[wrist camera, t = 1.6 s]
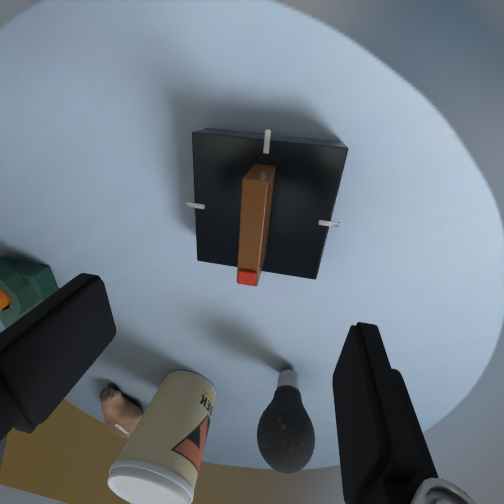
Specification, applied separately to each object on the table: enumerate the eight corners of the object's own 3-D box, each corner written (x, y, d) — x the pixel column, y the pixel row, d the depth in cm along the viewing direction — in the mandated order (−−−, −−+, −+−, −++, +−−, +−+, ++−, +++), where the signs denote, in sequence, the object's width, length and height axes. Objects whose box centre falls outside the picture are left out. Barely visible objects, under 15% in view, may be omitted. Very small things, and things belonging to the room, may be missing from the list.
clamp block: (198, 118, 19) (181, 120, 17) (353, 133, 18) (362, 138, 15) (202, 248, 25) (189, 266, 22) (320, 267, 24) (322, 288, 21)
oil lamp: (156, 392, 41) (109, 375, 41) (143, 417, 37) (91, 397, 37) (147, 426, 45) (104, 409, 45) (134, 451, 41) (87, 433, 41)
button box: (-16, 245, 30) (-57, 264, 27) (45, 256, 29) (11, 276, 26) (41, 354, 40) (16, 378, 36) (88, 365, 39) (67, 390, 36)
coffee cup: (224, 411, 39) (195, 523, 28) (166, 401, 40) (118, 503, 30) (219, 371, 34) (182, 487, 24) (153, 361, 36) (91, 466, 25)
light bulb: (321, 379, 31) (327, 483, 23) (282, 389, 34) (274, 487, 25) (297, 350, 30) (294, 451, 21) (257, 362, 32) (240, 458, 23)
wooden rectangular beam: (254, 163, 17) (241, 179, 14) (275, 165, 17) (267, 182, 13) (247, 253, 21) (235, 285, 17) (265, 256, 21) (256, 289, 17)
